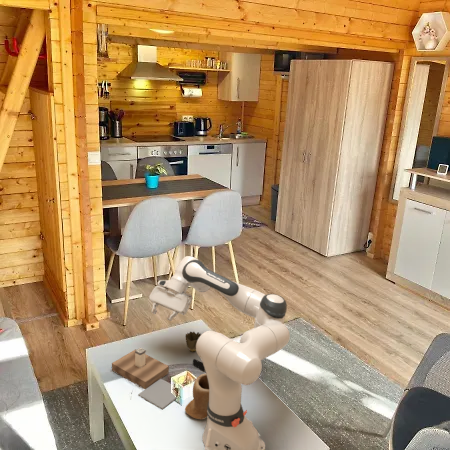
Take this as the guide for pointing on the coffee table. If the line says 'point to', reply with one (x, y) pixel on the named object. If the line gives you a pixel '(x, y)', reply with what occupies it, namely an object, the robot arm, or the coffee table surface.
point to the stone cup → (199, 398)
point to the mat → (159, 394)
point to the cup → (192, 340)
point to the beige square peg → (140, 357)
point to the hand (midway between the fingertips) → (160, 316)
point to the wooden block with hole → (140, 370)
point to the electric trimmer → (198, 364)
